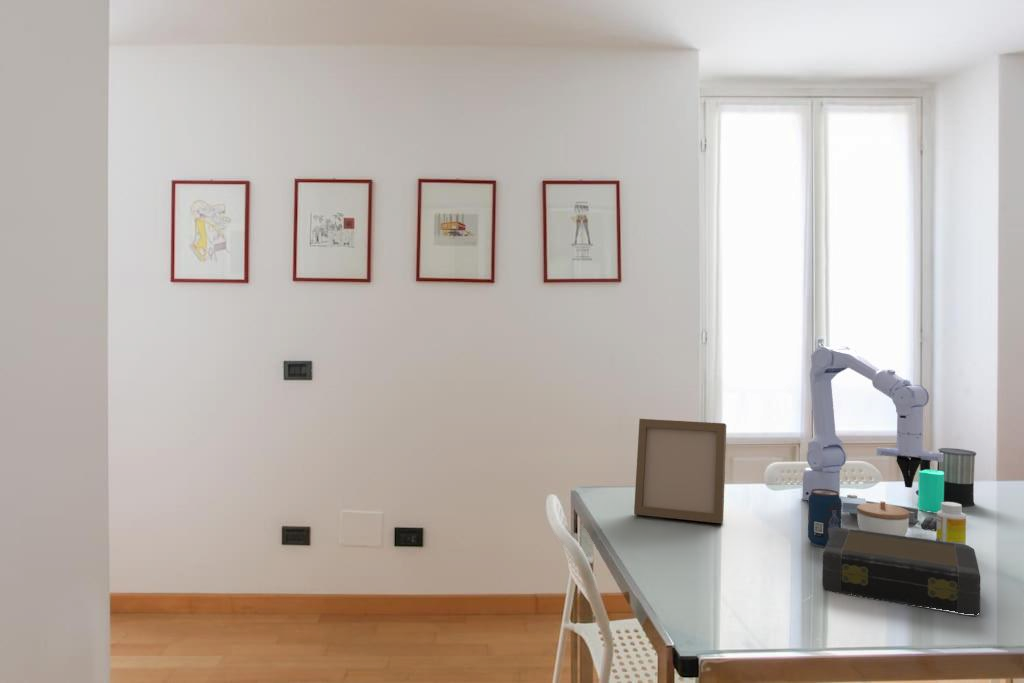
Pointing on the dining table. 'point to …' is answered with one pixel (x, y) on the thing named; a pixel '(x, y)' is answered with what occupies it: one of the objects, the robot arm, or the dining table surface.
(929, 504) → the candle
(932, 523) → the grey ridged block
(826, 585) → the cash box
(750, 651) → the dining table surface
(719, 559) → the dining table surface
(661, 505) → the photo frame
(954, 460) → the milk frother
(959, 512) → the supplement bottle
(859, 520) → the lidded jar
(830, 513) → the soda can
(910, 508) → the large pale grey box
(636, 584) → the dining table surface
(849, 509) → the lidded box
